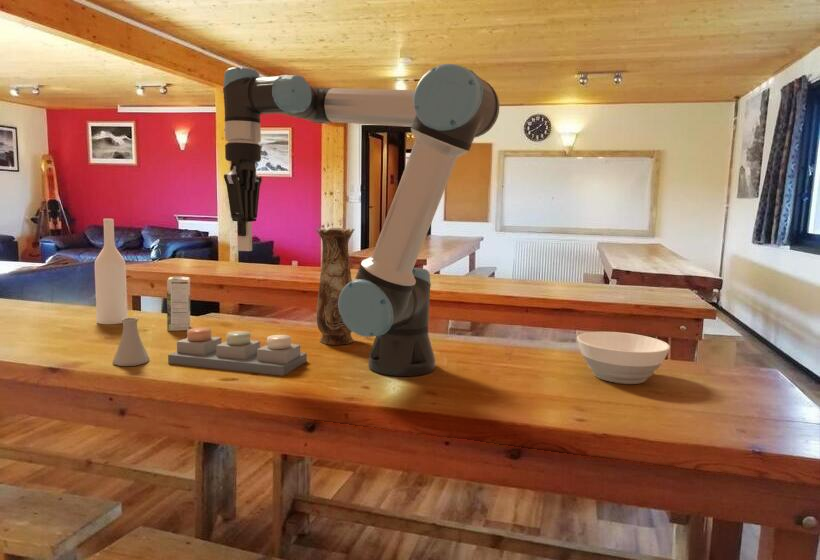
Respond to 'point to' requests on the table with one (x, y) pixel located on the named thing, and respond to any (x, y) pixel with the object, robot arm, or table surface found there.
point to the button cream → (279, 341)
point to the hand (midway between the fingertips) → (245, 250)
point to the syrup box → (178, 303)
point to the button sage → (238, 338)
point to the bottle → (110, 280)
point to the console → (237, 356)
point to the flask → (130, 346)
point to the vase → (333, 285)
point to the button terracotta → (199, 334)
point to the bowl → (622, 355)
